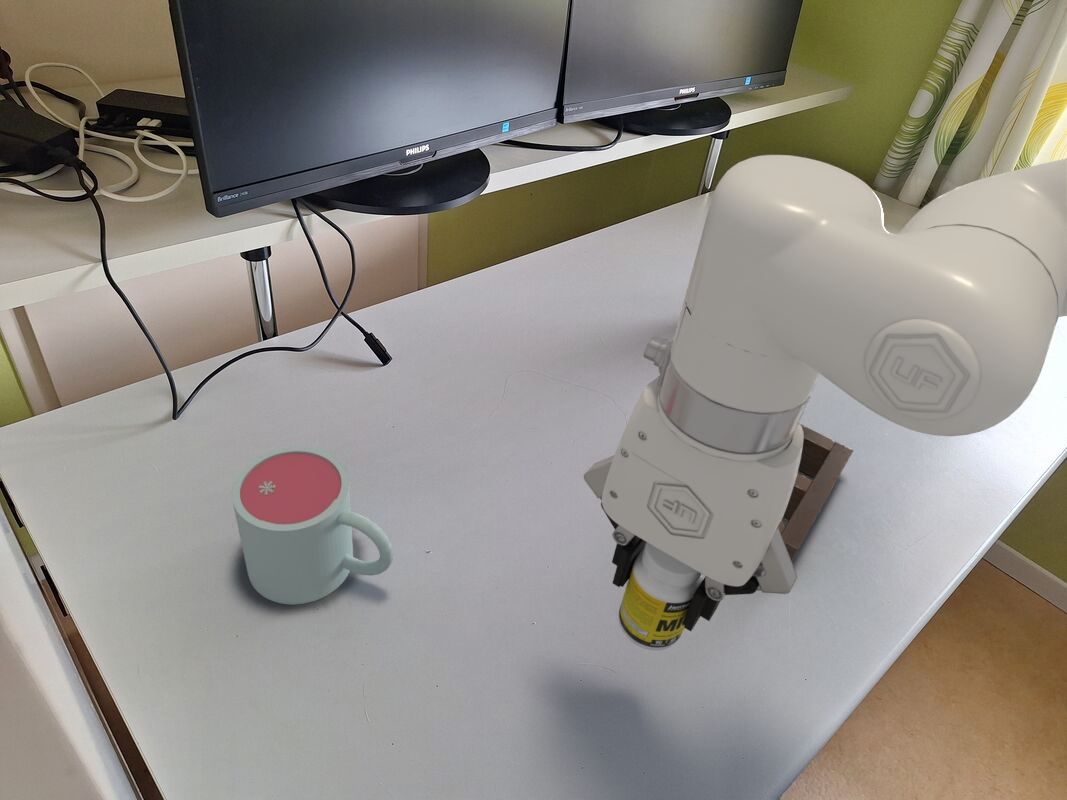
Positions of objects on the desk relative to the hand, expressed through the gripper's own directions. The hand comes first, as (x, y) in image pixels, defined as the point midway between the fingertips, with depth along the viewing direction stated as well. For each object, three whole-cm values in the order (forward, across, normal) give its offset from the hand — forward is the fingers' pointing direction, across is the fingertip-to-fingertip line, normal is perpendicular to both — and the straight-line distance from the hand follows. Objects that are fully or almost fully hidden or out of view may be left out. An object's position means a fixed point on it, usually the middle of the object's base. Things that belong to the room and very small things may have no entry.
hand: (661, 591), depth 53 cm
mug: (+15, -28, -6) cm, 32 cm away
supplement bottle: (+4, 0, 0) cm, 4 cm away
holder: (+15, +1, +30) cm, 33 cm away
